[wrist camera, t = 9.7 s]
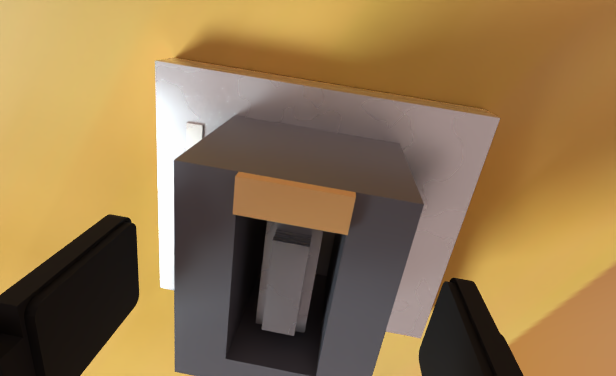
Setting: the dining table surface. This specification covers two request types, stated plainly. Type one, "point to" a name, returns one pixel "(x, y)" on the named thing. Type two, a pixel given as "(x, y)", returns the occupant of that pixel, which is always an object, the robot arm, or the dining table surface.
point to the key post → (341, 119)
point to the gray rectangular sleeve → (299, 212)
